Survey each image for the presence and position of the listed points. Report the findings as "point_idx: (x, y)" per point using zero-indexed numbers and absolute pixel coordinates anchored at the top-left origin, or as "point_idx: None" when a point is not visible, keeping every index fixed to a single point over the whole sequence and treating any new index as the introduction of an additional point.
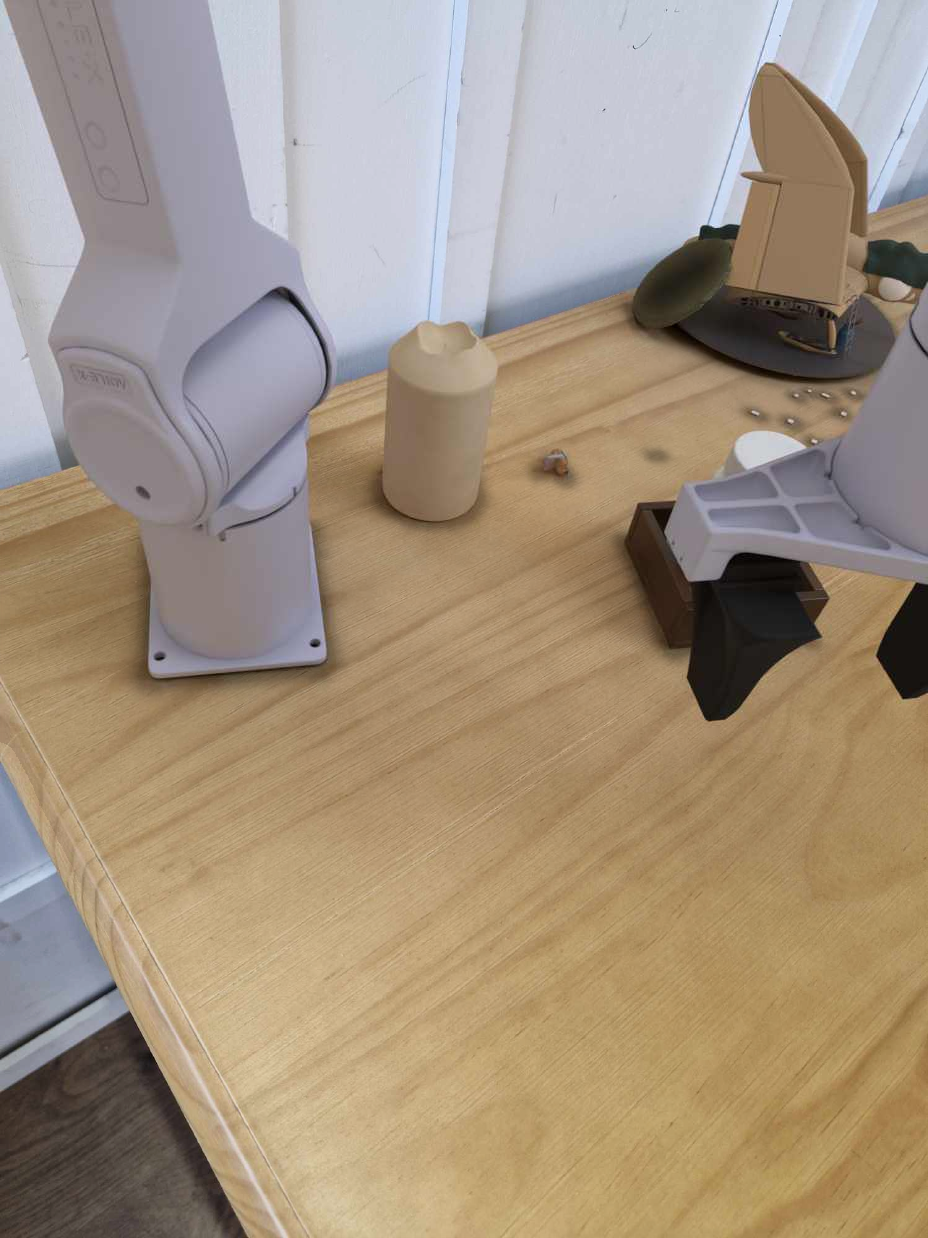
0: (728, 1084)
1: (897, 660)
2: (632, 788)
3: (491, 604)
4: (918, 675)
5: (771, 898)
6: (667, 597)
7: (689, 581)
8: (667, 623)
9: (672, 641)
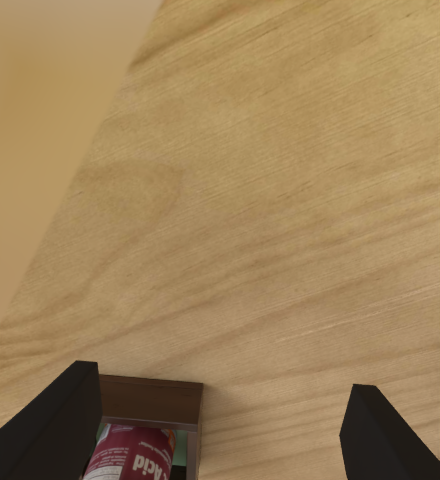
0: (340, 35)
1: (90, 417)
2: (291, 287)
3: (327, 437)
4: (77, 402)
5: (220, 178)
6: (199, 429)
7: (172, 436)
8: (201, 405)
9: (202, 390)
